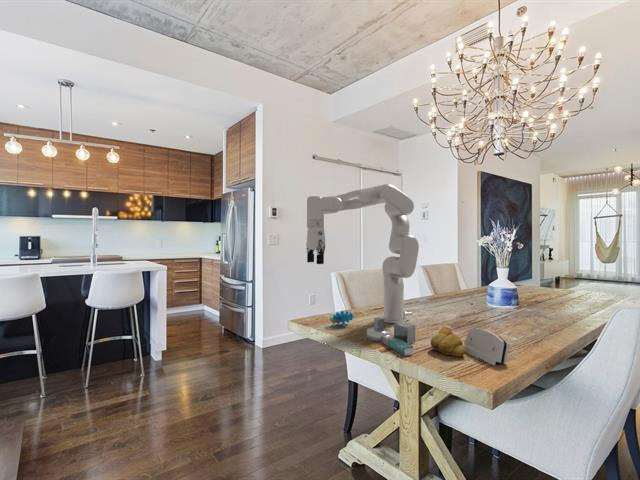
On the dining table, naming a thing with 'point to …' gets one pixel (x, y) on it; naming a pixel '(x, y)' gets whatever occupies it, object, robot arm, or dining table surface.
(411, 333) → the socket
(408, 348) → the ratchet
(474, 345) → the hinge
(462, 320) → the dining table surface
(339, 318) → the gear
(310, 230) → the robot arm
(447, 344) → the bread roll
